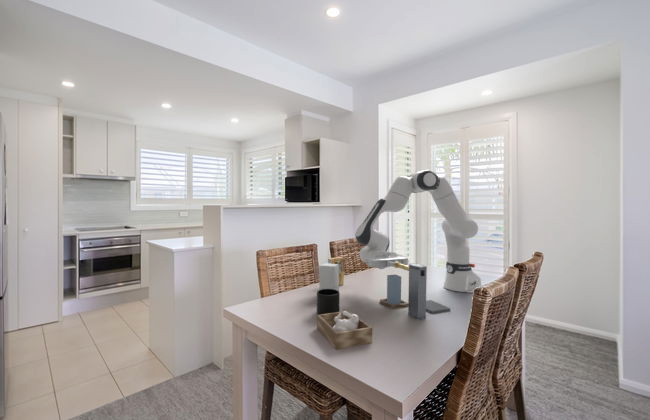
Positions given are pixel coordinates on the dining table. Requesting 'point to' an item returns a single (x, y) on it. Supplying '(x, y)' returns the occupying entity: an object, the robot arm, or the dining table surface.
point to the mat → (435, 307)
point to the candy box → (341, 267)
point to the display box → (347, 337)
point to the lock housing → (417, 291)
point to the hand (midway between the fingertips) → (397, 264)
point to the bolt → (401, 266)
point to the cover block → (393, 289)
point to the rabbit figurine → (346, 322)
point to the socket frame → (384, 301)
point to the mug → (327, 301)
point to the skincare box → (329, 276)
